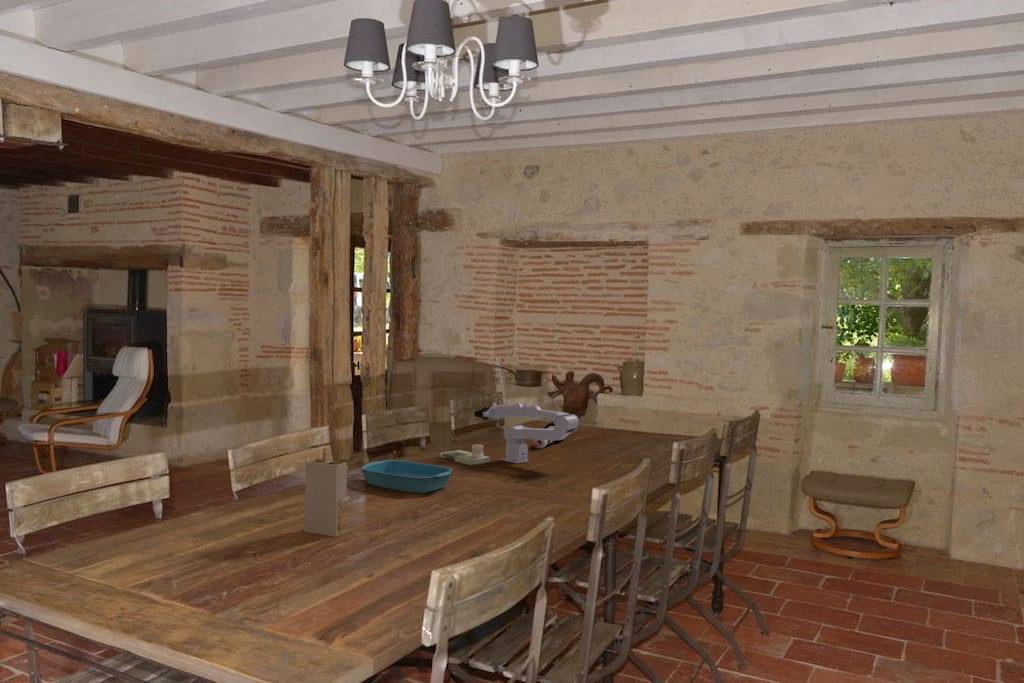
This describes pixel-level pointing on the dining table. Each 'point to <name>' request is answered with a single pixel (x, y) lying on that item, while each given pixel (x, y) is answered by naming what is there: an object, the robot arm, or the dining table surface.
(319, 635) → the dining table surface
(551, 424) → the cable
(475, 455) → the white round knob
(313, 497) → the tall grey upright box
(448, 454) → the pale green panel
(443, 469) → the casserole dish
